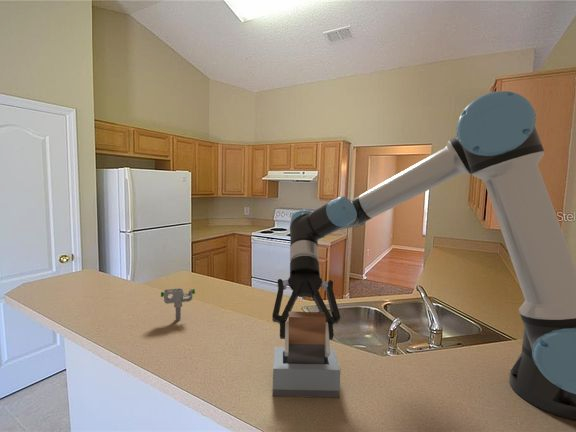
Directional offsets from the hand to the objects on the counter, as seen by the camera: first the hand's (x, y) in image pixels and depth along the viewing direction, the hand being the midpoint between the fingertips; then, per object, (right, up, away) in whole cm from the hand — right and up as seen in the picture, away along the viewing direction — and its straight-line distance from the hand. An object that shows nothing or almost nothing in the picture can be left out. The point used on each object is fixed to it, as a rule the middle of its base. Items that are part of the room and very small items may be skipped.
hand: (307, 354), depth 64 cm
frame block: (0, -8, +4) cm, 9 cm away
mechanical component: (-40, -5, +35) cm, 53 cm away
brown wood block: (0, -3, +4) cm, 5 cm away
